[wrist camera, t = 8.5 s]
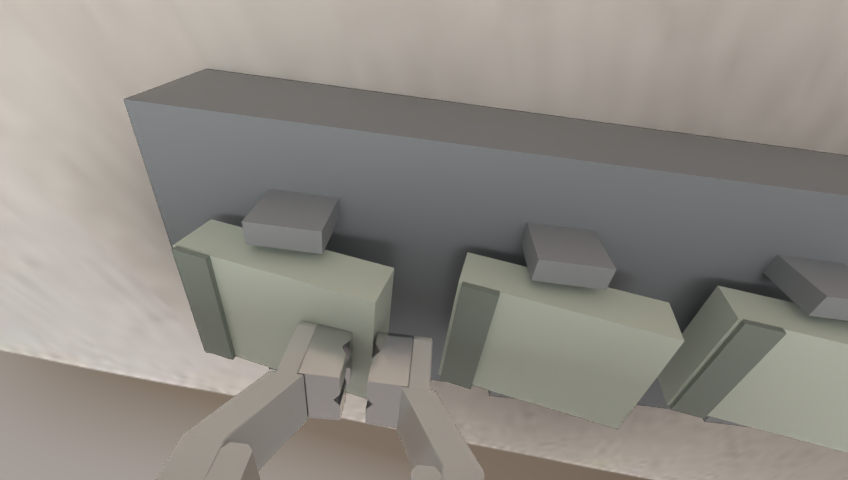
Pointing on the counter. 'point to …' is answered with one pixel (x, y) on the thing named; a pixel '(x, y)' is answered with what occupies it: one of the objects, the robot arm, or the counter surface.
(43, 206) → the counter surface
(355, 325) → the switch
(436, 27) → the counter surface
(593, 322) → the switch
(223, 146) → the switch unit
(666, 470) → the counter surface
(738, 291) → the switch
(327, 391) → the robot arm
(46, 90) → the counter surface
